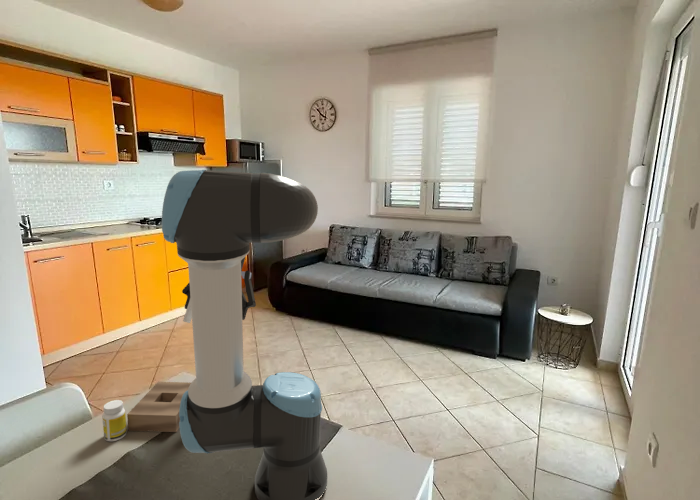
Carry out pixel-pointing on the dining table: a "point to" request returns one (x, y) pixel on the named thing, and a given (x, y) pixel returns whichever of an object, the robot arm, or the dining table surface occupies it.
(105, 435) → the supplement bottle
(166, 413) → the walnut block
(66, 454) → the dining table surface
